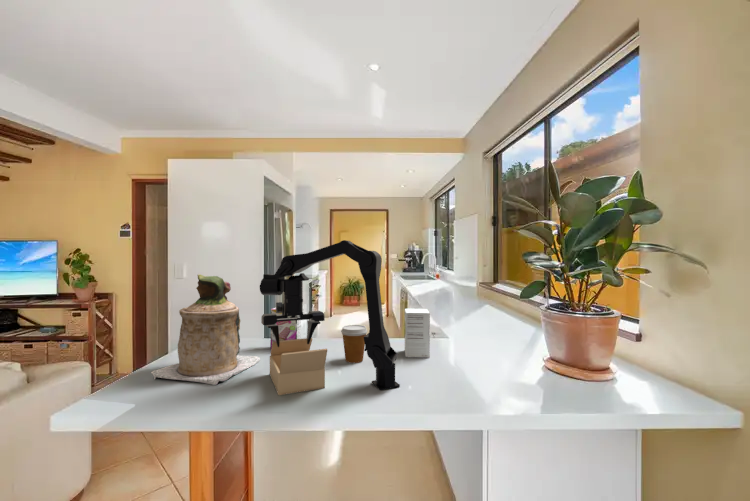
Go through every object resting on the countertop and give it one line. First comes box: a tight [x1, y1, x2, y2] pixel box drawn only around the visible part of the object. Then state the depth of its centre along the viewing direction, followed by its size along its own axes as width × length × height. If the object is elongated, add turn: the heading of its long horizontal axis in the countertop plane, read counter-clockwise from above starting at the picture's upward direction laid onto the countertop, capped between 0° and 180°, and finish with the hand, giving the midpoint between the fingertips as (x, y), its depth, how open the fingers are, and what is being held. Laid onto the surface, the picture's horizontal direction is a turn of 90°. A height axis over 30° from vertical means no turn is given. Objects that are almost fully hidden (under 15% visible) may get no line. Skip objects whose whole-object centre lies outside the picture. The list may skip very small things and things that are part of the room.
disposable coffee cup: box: [340, 324, 368, 364], centre depth 128 cm, size 10×10×12 cm
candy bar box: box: [269, 306, 301, 350], centre depth 143 cm, size 11×5×16 cm, turn 84°
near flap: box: [280, 348, 328, 375], centre depth 97 cm, size 7×12×1 cm
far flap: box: [270, 337, 313, 356], centre depth 113 cm, size 7×12×1 cm
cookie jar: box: [150, 273, 261, 386], centre depth 117 cm, size 25×25×32 cm
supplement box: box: [404, 308, 431, 359], centre depth 136 cm, size 10×9×17 cm
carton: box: [269, 354, 326, 396], centre depth 107 cm, size 18×13×6 cm
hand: (293, 345), depth 110 cm, fingers open, 9 cm apart
